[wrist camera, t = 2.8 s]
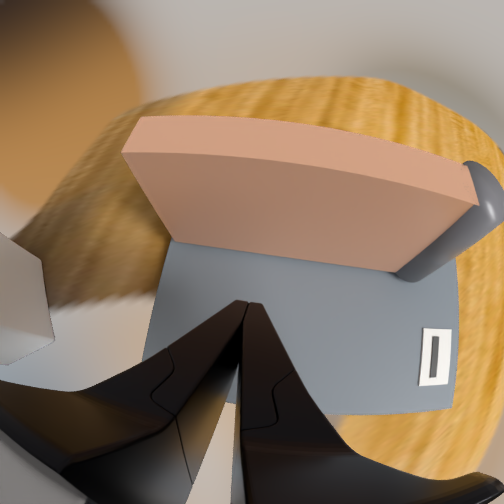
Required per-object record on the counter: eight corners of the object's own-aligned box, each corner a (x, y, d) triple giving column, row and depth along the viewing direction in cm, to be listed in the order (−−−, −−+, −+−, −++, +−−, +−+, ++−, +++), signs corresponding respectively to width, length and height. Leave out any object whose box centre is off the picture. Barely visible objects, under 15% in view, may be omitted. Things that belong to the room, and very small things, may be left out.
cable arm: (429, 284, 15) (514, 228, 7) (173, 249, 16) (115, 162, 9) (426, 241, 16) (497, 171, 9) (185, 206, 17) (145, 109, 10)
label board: (443, 406, 13) (453, 408, 12) (145, 379, 15) (137, 379, 14) (440, 210, 19) (447, 202, 17) (198, 171, 20) (195, 160, 19)
